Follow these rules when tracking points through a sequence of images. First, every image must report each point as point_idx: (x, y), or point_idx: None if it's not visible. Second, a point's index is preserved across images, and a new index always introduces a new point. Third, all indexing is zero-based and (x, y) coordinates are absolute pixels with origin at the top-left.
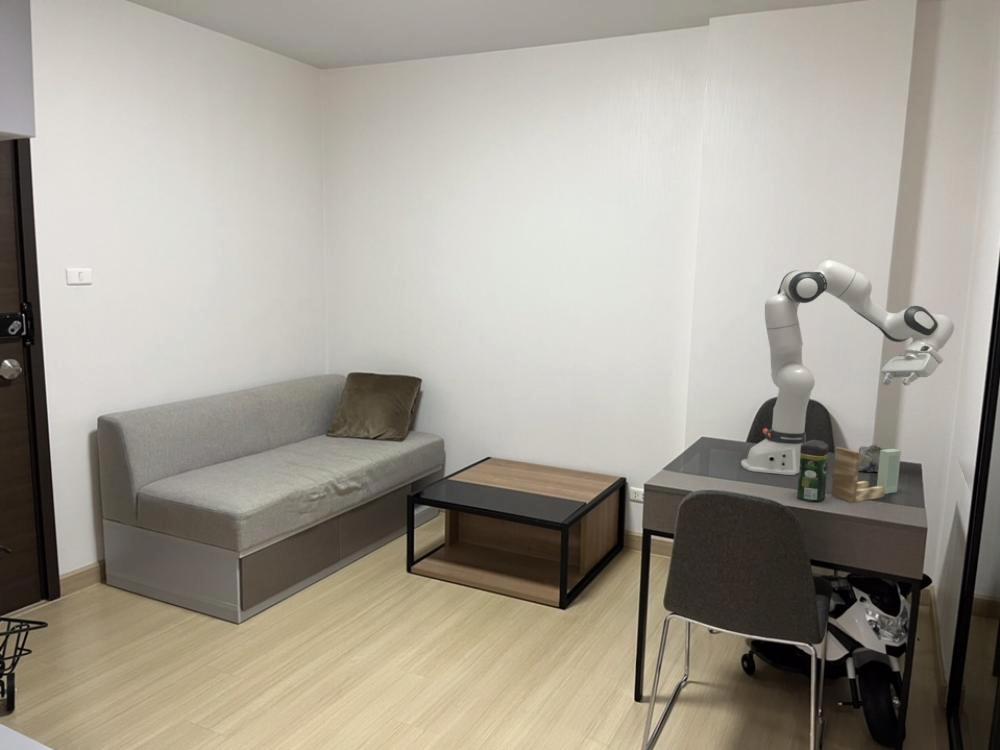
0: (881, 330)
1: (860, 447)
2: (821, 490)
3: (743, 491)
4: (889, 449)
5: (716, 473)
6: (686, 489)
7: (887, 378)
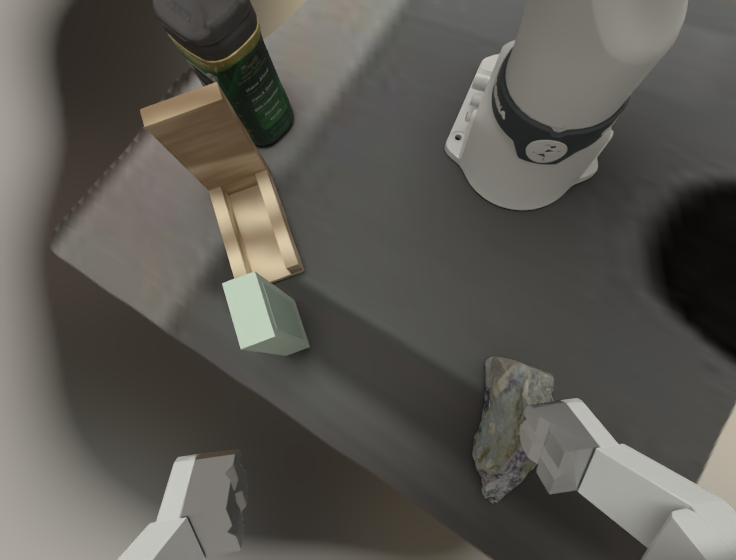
0: None
1: (547, 374)
2: None
3: (316, 2)
4: (263, 314)
5: None
6: None
7: (610, 471)
